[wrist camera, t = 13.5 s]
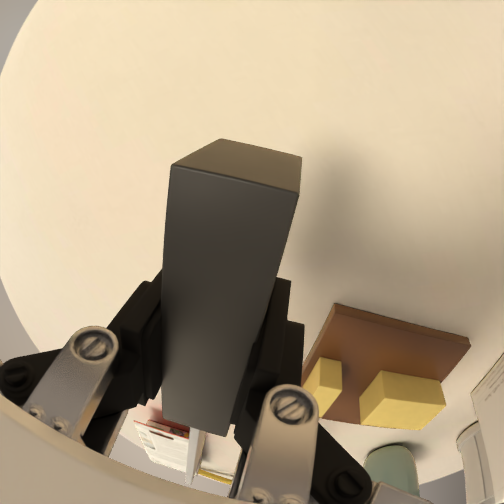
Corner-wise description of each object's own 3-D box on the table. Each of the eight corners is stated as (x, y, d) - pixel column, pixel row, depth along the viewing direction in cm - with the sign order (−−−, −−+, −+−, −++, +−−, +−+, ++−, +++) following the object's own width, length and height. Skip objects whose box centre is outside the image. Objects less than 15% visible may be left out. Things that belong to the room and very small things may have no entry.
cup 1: (353, 448, 34) (352, 514, 25) (410, 433, 31) (416, 500, 22) (368, 466, 36) (367, 523, 27) (417, 453, 33) (422, 511, 24)
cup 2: (439, 438, 31) (449, 513, 20) (493, 402, 26) (514, 480, 16) (470, 448, 32) (480, 511, 21) (516, 417, 27) (534, 481, 17)
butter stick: (380, 369, 24) (384, 398, 22) (439, 380, 24) (446, 405, 21) (358, 397, 27) (360, 424, 24) (415, 405, 26) (420, 430, 23)
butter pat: (319, 356, 25) (318, 385, 22) (341, 361, 25) (342, 390, 22) (302, 386, 27) (299, 413, 24) (322, 390, 27) (321, 418, 24)
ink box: (157, 445, 43) (142, 400, 36) (203, 459, 42) (199, 417, 35) (150, 462, 40) (130, 421, 33) (197, 477, 39) (190, 441, 32)
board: (334, 302, 23) (334, 312, 22) (467, 337, 23) (471, 346, 22) (282, 401, 30) (280, 410, 29) (395, 420, 30) (396, 428, 29)
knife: (219, 138, 8) (169, 163, 5) (302, 157, 8) (299, 193, 5) (183, 438, 17) (167, 482, 14) (219, 448, 17) (206, 493, 14)
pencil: (263, 488, 42) (261, 490, 42) (186, 462, 44) (186, 465, 45) (261, 492, 41) (260, 494, 41) (184, 466, 44) (183, 469, 44)
